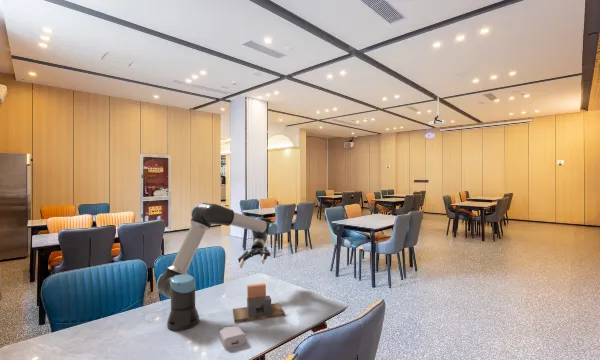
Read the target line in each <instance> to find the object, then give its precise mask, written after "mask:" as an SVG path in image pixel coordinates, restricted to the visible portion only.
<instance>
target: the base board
mask: <svg viewBox="0 0 600 360" xmlns="http://www.w3.org/2000/svg"><path fill="white" fill-rule="evenodd" d="M232 314H233V321H234V323H237V324H238V323H244V322H250V321H257V320H264V319H271V318H279V317H284V316H285V312H284V310H283V308H282V306H281V304H280V302H277V303H271V315H267V316H259V317H252V318H248V314H247V306H246V307H237V308H236V307H235V308H232Z"/></svg>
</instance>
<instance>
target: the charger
mask: <svg viewBox="0 0 600 360" xmlns="http://www.w3.org/2000/svg"><path fill="white" fill-rule="evenodd" d="M219 340H220V342H221V344H222V346H223V348H224V349H225V348H227V349H230V348H229V347H231V348H235V347H238V345H239V346H241V345H245V344H246V334H245V333H244V331H243V330H242V329H241V327H240V326H239V325H236V326H230V325H229V326H224V327H223V328H222V329H221V330H220V331H219ZM234 346H235V347H234Z"/></svg>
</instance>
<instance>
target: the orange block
mask: <svg viewBox="0 0 600 360" xmlns="http://www.w3.org/2000/svg"><path fill="white" fill-rule="evenodd" d="M246 287H247V288H246V291H247V292H246V299H247V298H252V297H261V296H267V289H266V287H267V284H266V283H265V282H263V283H253V284H247V285H246ZM256 308H262V305H256Z"/></svg>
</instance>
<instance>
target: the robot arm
mask: <svg viewBox="0 0 600 360" xmlns="http://www.w3.org/2000/svg"><path fill="white" fill-rule="evenodd" d="M190 215H191V219H190V228H189V230H188V232H187V234H186V236H185V238H184V240H183V241H182V244H181V246H180V248H179V250H178V252H177V254H176V256H175V258H174V260H173V262H172V264H171V265H170V266H168V267H167V268H166V270H165V272H163V273H161V274H160V275H159V277H158V278H157V281H156V289H157V291H158V292H159V293H160V294H161V295H162V296H164V297H166V298H169V299H170V312H169V316H168V318H167V322H166V324H167V325H166V327H167V329H169V330H171V331H186V330H189V329H192V328H193V327H196V326H197V325H198V324H199V322H200V316H199V313H198V310H197V307H196V279H195V278H194V276H192V275H190V274H188V270H189V267H190V265H191V263H192V260H193V258H194V256H195V255H196V252H197V250H198V248H199V246H200V244H201V241H202V239H203V237H204V235H205V234H206V231H208V230H210V228H211V226H212V225H220V226H226V227H228V226H233V227H238V228H242V229H246V230H250V231H251V232H252V235H253V237H254V240H253V243H252V246H251V250H245V252H244V253H243V254H242V255H240V256H239V258H237V260H238V263H239V268H240V269H242V268H243V266H244V264H245V262H246V261H247V260H248V259H250V258H253V257H254V256H257V255H259V256H261V262H262V264H263V265H264V264H265V263H266V260H267V258H268V257H271V253H270V251H269V249H268V248H267V246H265V245H266V242H267V240H268V235H269V236H275V235H276V234H277V233H278V230H279V227H278V225H277V223H274V222H268V221H266V220H262V219H260V217H259V216H257V217H252V216H247V215H244V214H241V213H238V212H235V211H234V210H233V209H232V208H231V209H230V208H228V207H225V206H222V205H220V204H217V203H210V202H209V203H208V202H202V203H197V204H196V205H195V206H194V207H193V208H192V210H191V214H190Z"/></svg>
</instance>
